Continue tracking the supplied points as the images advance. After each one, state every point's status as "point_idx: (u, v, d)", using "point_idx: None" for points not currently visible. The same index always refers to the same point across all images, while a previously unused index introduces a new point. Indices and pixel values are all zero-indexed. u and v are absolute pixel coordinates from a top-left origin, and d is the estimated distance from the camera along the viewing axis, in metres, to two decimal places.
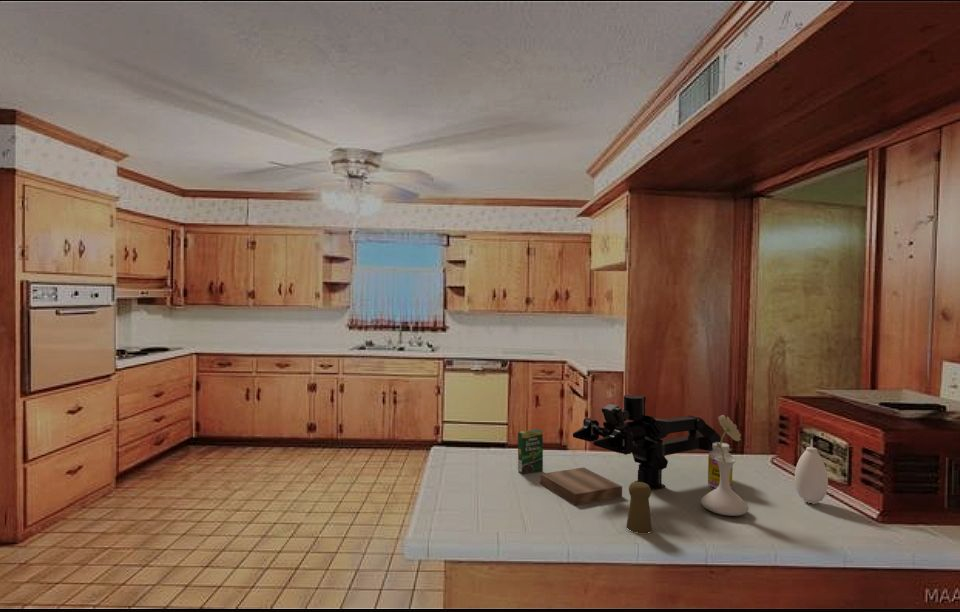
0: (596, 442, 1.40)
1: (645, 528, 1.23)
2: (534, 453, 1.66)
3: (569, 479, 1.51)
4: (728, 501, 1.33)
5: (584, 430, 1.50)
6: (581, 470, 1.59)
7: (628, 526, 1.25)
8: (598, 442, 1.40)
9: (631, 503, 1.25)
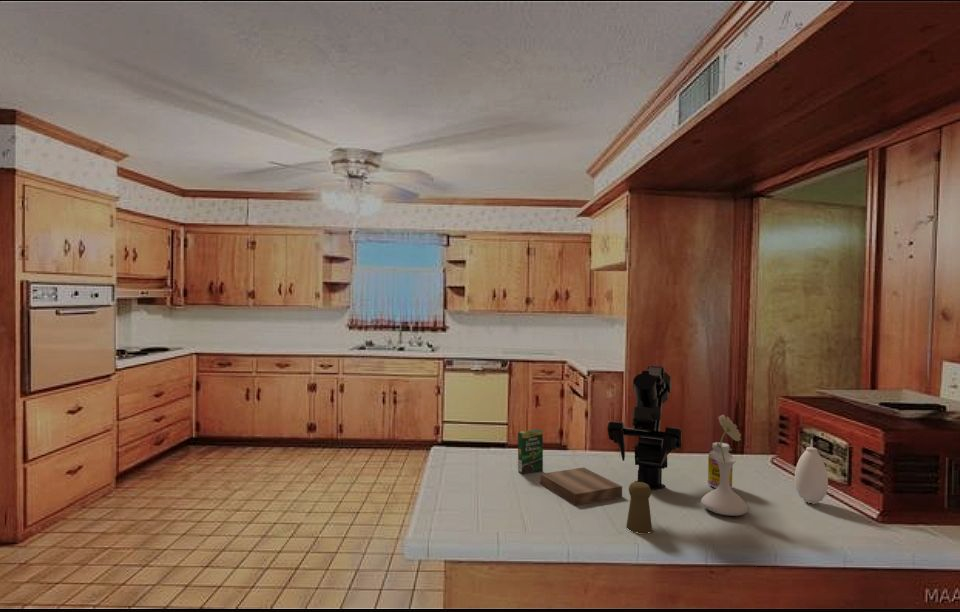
0: (661, 461, 1.31)
1: (645, 528, 1.23)
2: (534, 453, 1.66)
3: (569, 479, 1.51)
4: (728, 501, 1.33)
5: (623, 444, 1.37)
6: (581, 470, 1.59)
7: (628, 526, 1.25)
8: (662, 460, 1.31)
9: (631, 503, 1.25)
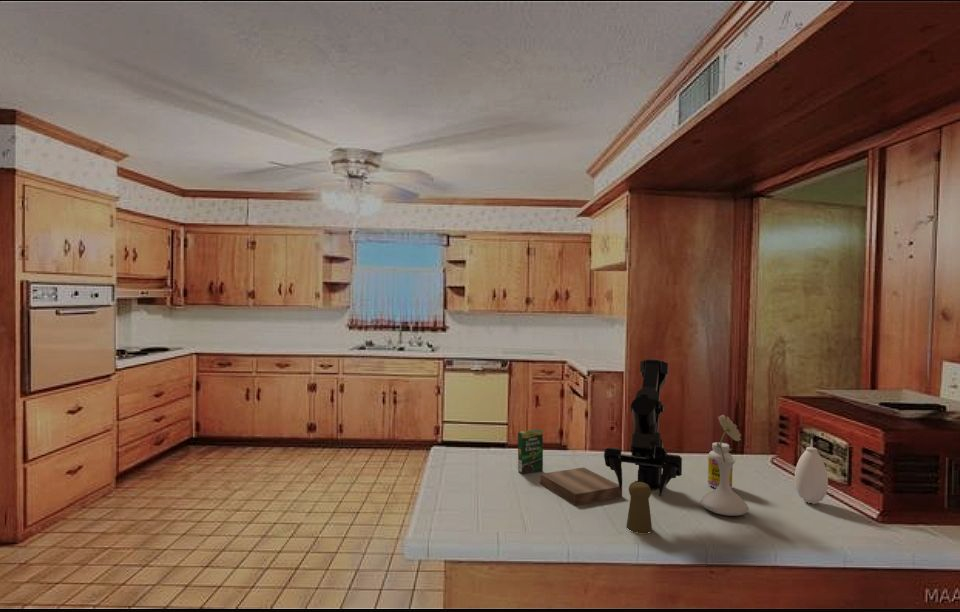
0: (660, 492, 1.24)
1: (645, 528, 1.23)
2: (534, 453, 1.66)
3: (569, 479, 1.51)
4: (728, 501, 1.33)
5: (621, 472, 1.30)
6: (581, 470, 1.59)
7: (628, 526, 1.25)
8: (662, 490, 1.25)
9: (631, 503, 1.25)
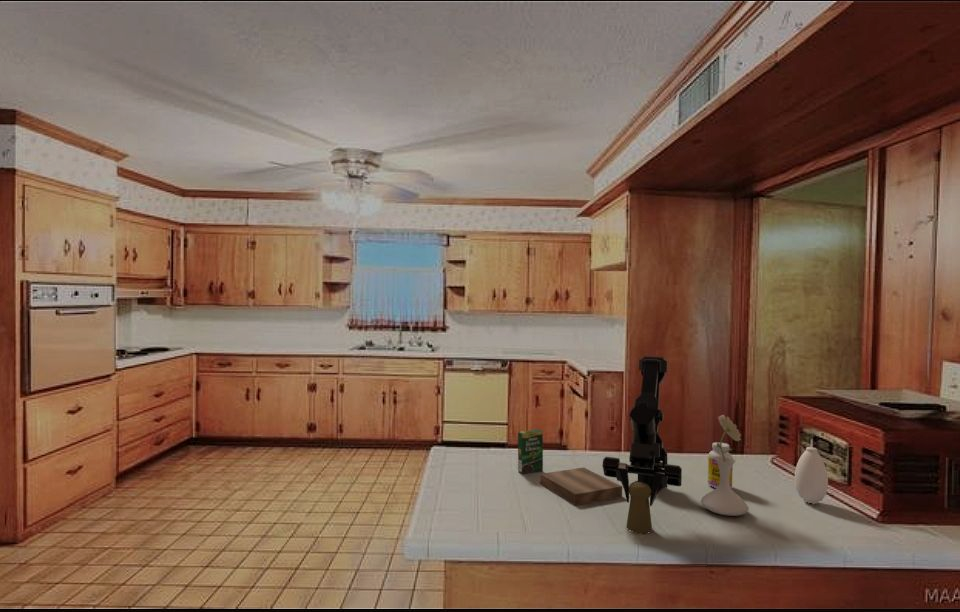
0: (651, 502, 1.23)
1: (645, 528, 1.23)
2: (534, 453, 1.66)
3: (569, 479, 1.51)
4: (728, 501, 1.33)
5: (628, 483, 1.27)
6: (581, 470, 1.59)
7: (628, 526, 1.25)
8: (653, 500, 1.23)
9: (631, 503, 1.25)
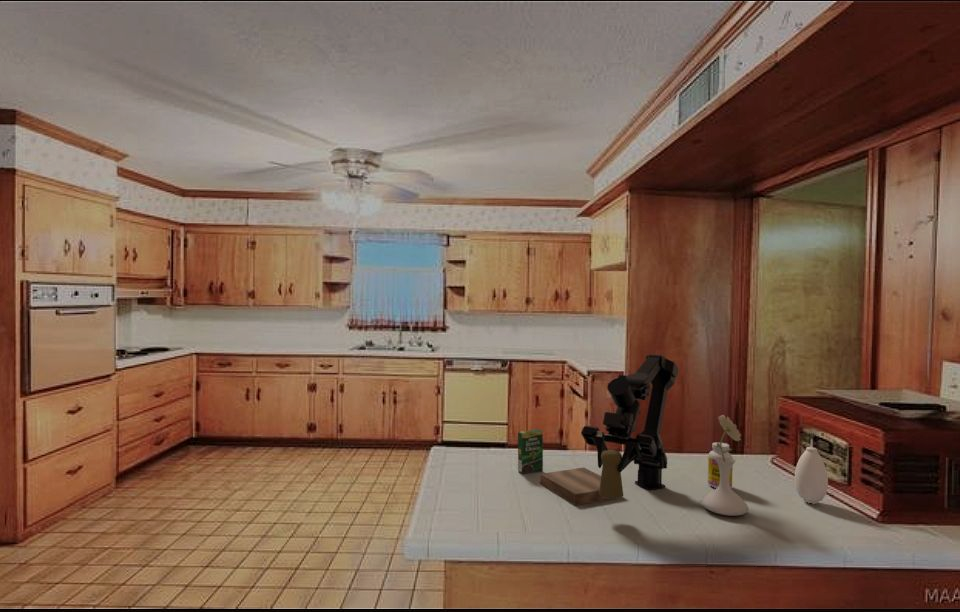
0: (620, 468, 1.28)
1: (613, 493, 1.28)
2: (534, 453, 1.66)
3: (569, 479, 1.51)
4: (728, 501, 1.33)
5: (602, 451, 1.33)
6: (581, 470, 1.59)
7: (599, 490, 1.31)
8: (622, 467, 1.28)
9: (602, 469, 1.31)
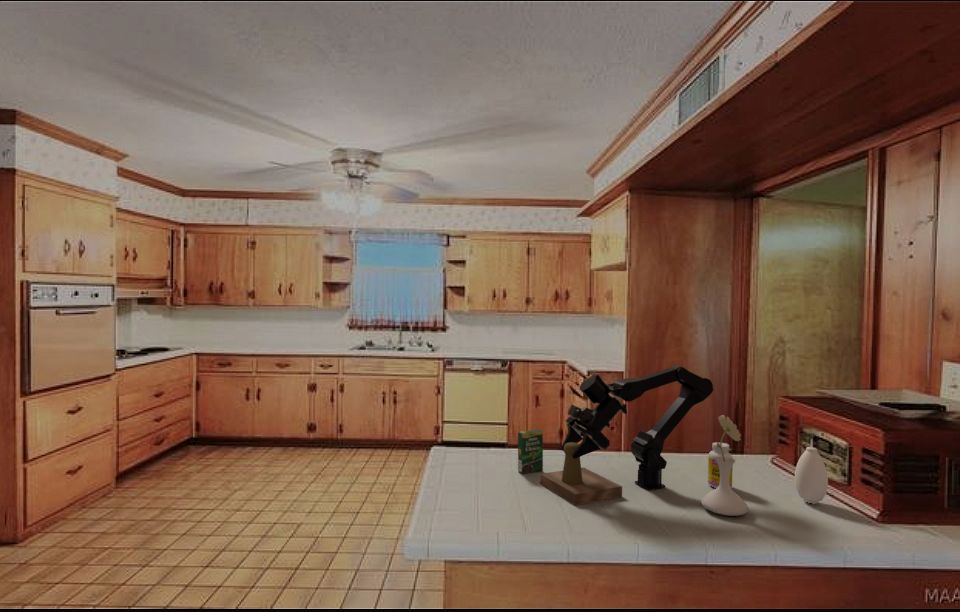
0: (574, 455, 1.45)
1: (566, 479, 1.47)
2: (534, 453, 1.66)
3: None
4: (728, 501, 1.33)
5: (569, 437, 1.53)
6: (581, 470, 1.59)
7: None
8: (576, 454, 1.45)
9: None
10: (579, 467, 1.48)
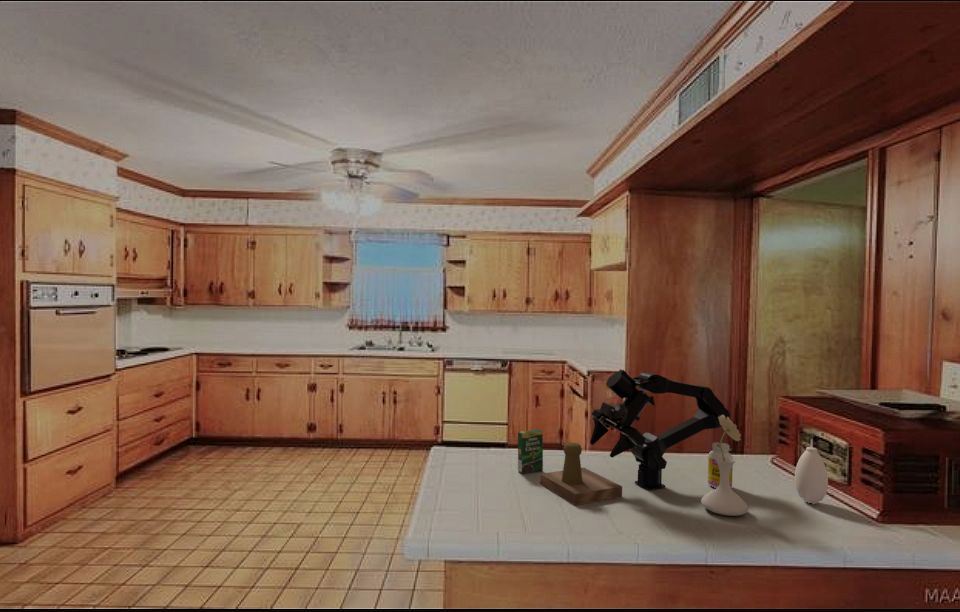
0: (611, 454, 1.47)
1: (566, 479, 1.47)
2: (534, 453, 1.66)
3: None
4: (728, 501, 1.33)
5: (597, 431, 1.56)
6: (581, 470, 1.59)
7: None
8: (613, 453, 1.47)
9: None
10: (579, 467, 1.48)
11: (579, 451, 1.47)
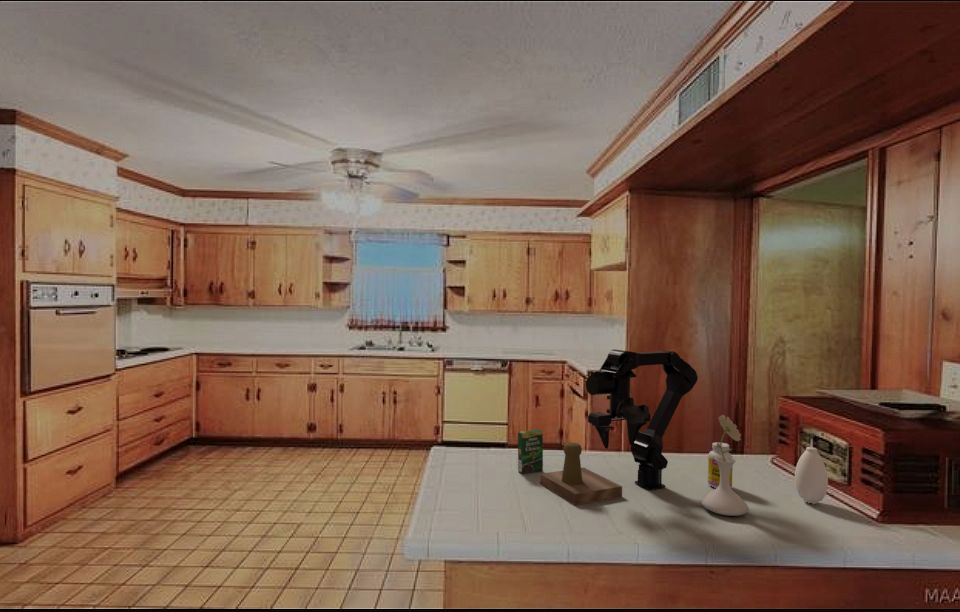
0: None
1: (566, 479, 1.47)
2: (534, 453, 1.66)
3: None
4: (728, 501, 1.33)
5: None
6: (581, 470, 1.59)
7: None
8: None
9: None
10: (579, 467, 1.48)
11: (579, 451, 1.47)
